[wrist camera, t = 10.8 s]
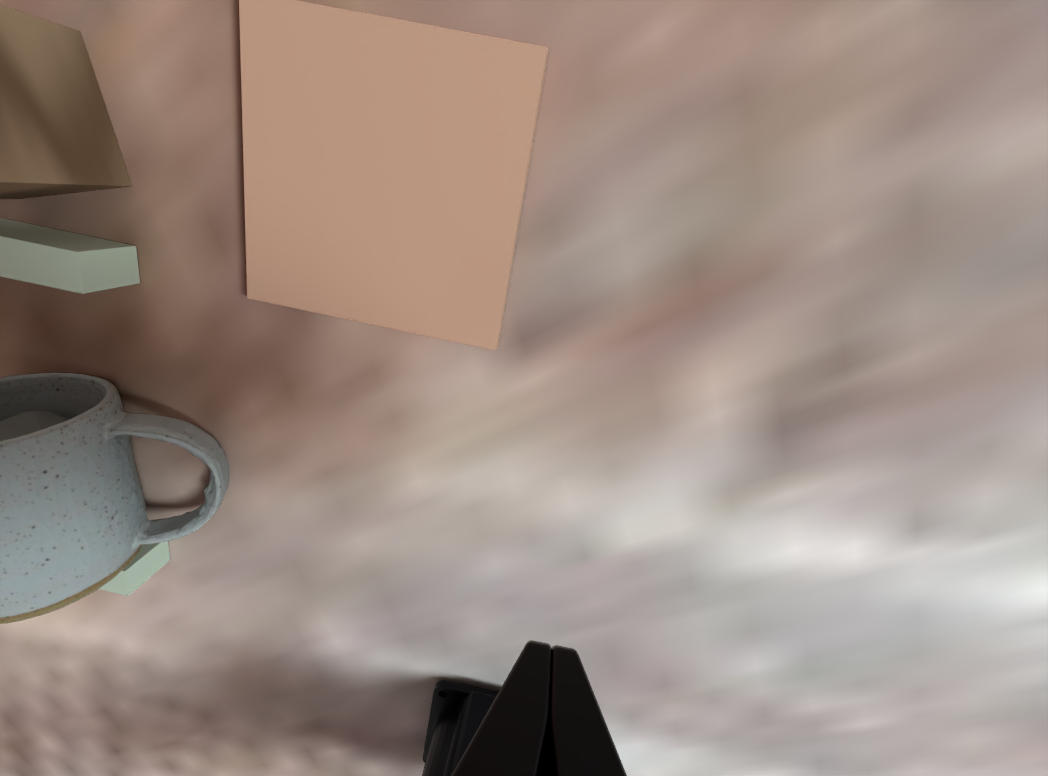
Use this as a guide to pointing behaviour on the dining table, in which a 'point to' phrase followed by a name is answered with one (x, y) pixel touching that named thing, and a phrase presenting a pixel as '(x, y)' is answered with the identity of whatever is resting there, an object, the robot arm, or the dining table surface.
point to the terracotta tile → (384, 166)
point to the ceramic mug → (80, 489)
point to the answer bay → (81, 271)
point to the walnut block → (52, 113)
